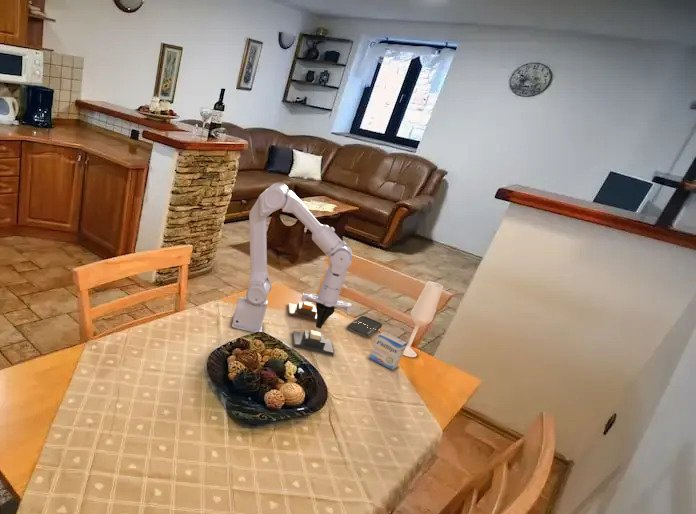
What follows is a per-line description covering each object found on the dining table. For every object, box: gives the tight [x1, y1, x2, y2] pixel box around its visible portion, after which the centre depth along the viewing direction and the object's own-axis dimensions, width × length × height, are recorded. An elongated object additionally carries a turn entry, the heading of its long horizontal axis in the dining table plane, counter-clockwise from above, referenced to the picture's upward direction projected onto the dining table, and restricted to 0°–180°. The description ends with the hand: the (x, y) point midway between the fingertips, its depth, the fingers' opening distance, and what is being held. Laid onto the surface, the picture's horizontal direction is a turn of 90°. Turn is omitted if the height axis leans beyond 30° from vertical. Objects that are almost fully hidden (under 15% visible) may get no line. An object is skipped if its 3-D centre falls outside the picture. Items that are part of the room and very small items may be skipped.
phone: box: [346, 315, 383, 338], centre depth 175 cm, size 8×1×15 cm
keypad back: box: [287, 301, 317, 323], centre depth 175 cm, size 12×9×3 cm
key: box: [309, 329, 322, 340], centre depth 154 cm, size 3×3×2 cm
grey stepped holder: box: [292, 329, 335, 357], centre depth 155 cm, size 12×9×3 cm
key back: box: [302, 301, 314, 310], centre depth 174 cm, size 3×3×2 cm
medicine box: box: [368, 331, 408, 371], centre depth 152 cm, size 8×4×9 cm, turn 47°
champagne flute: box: [402, 280, 444, 358], centre depth 158 cm, size 7×7×24 cm
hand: (318, 326), depth 152 cm, fingers closed
